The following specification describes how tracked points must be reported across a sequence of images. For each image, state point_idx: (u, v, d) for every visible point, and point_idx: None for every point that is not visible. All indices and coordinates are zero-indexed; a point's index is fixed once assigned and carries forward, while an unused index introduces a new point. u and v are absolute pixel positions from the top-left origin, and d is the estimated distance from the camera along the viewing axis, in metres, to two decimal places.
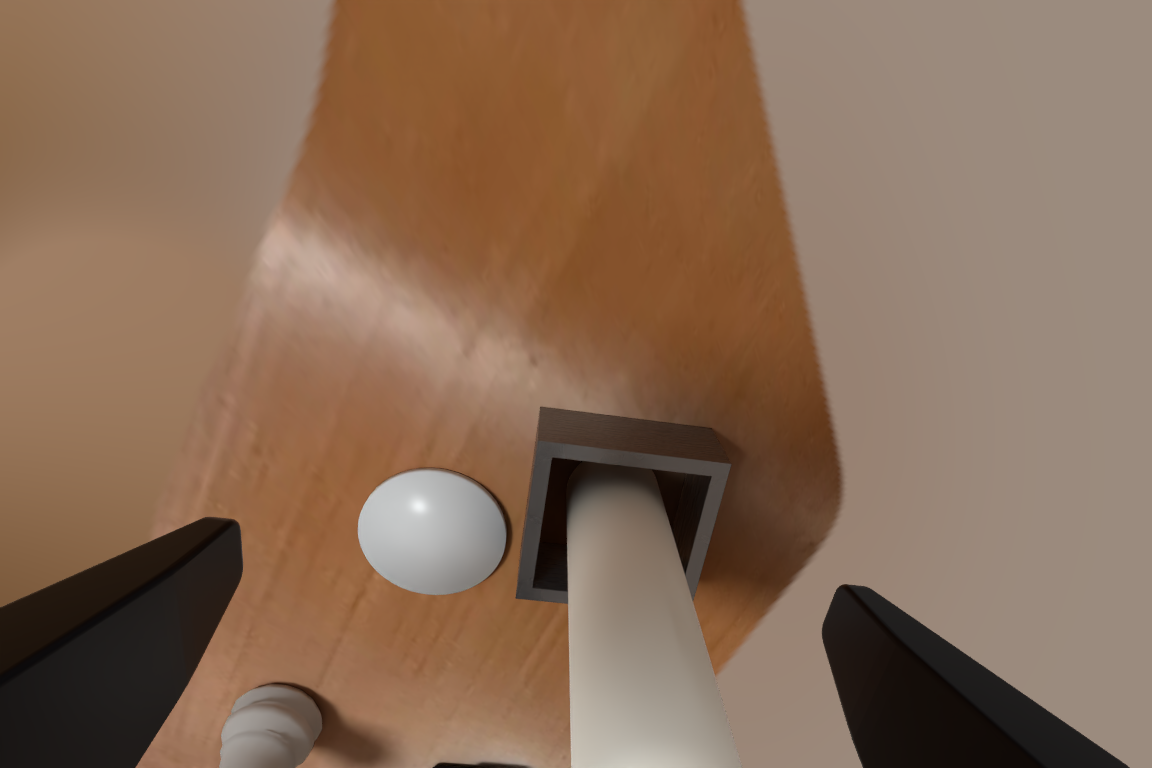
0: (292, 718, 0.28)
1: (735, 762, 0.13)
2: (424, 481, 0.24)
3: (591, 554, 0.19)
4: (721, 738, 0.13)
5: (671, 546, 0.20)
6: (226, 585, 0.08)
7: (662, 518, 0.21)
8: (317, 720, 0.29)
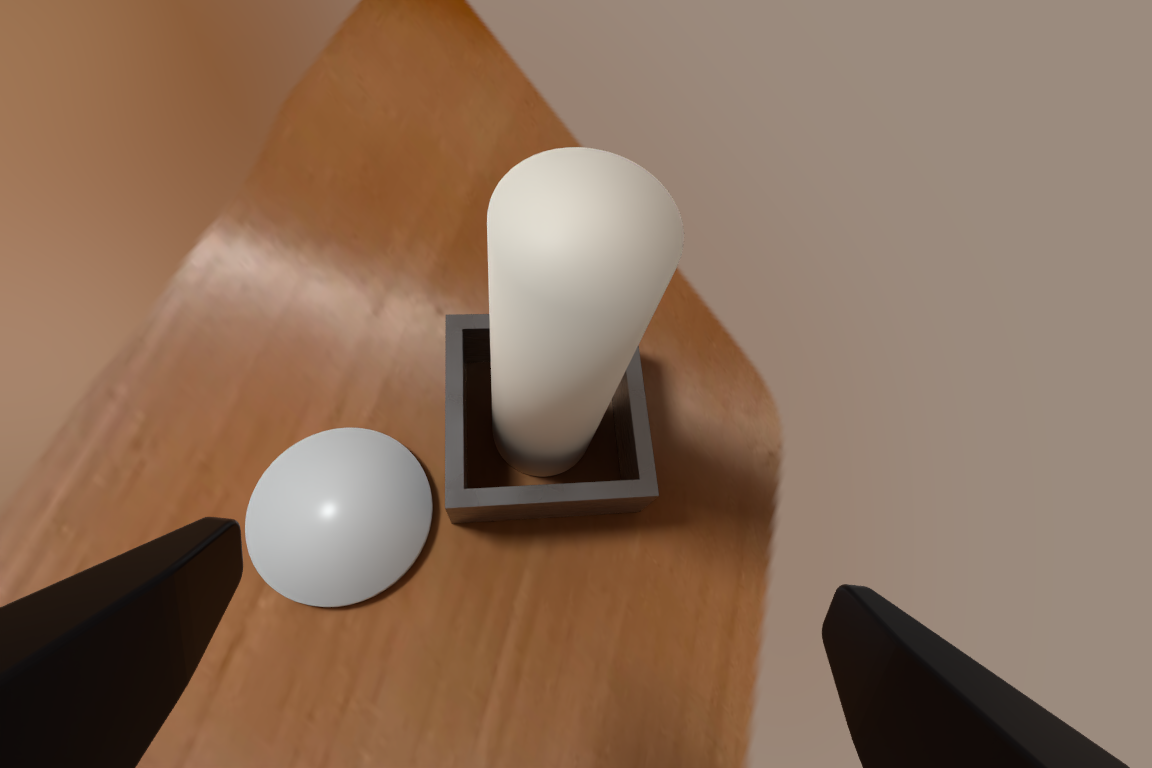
0: None
1: (646, 171, 0.12)
2: (332, 440, 0.22)
3: None
4: None
5: None
6: (226, 585, 0.08)
7: None
8: None
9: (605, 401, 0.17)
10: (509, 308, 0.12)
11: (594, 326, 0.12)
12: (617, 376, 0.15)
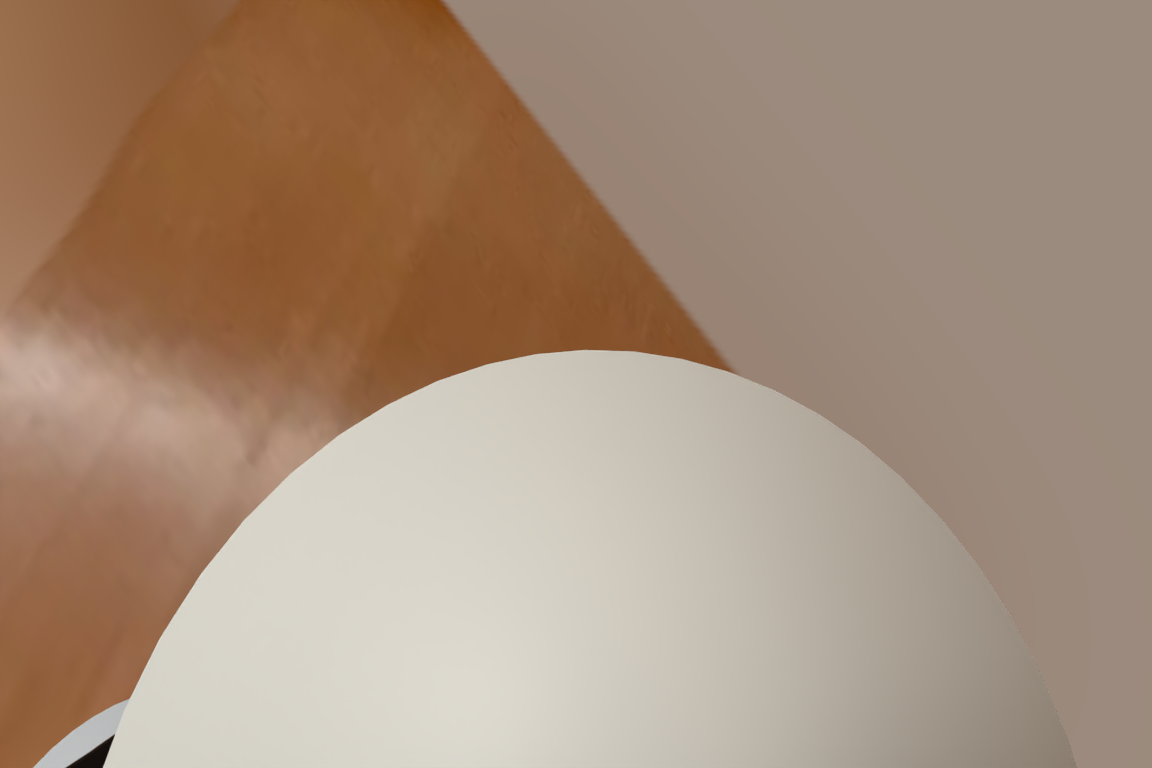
0: None
1: (861, 447, 0.03)
2: None
3: None
4: None
5: None
6: None
7: None
8: None
9: None
10: None
11: None
12: None
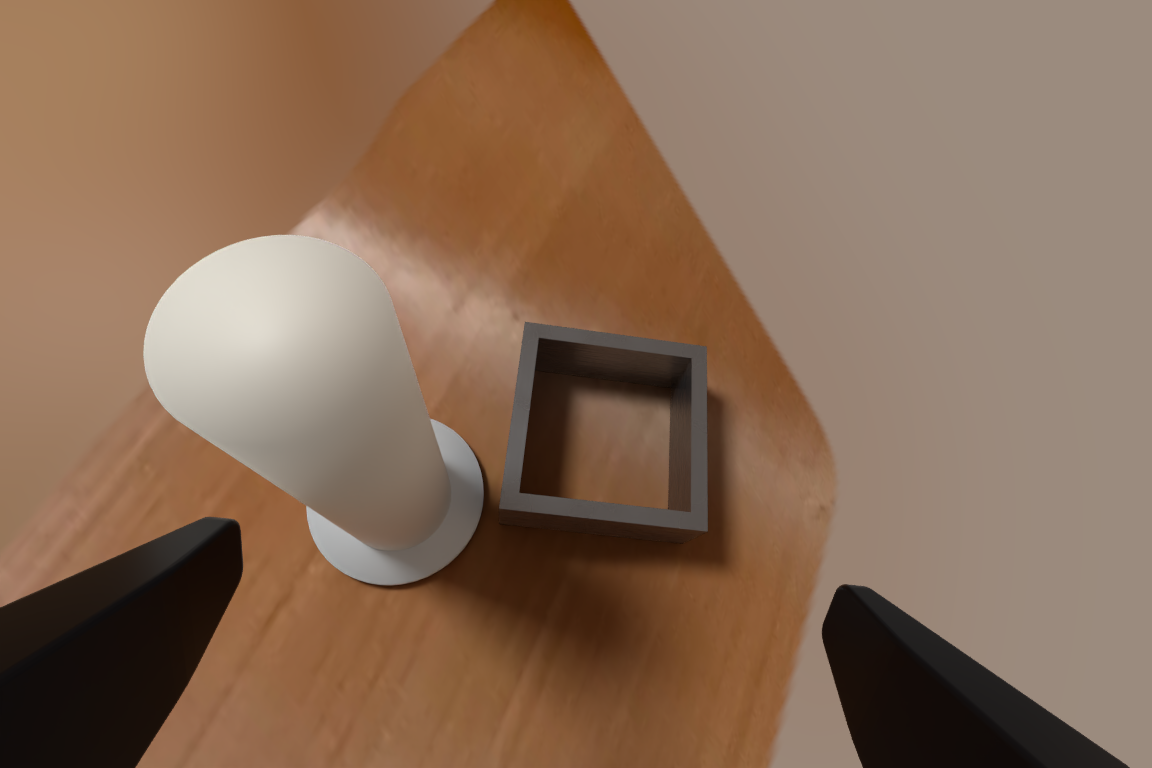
0: None
1: (348, 250, 0.11)
2: None
3: None
4: None
5: None
6: (226, 585, 0.08)
7: None
8: None
9: (414, 482, 0.15)
10: None
11: (305, 451, 0.10)
12: (404, 464, 0.14)
